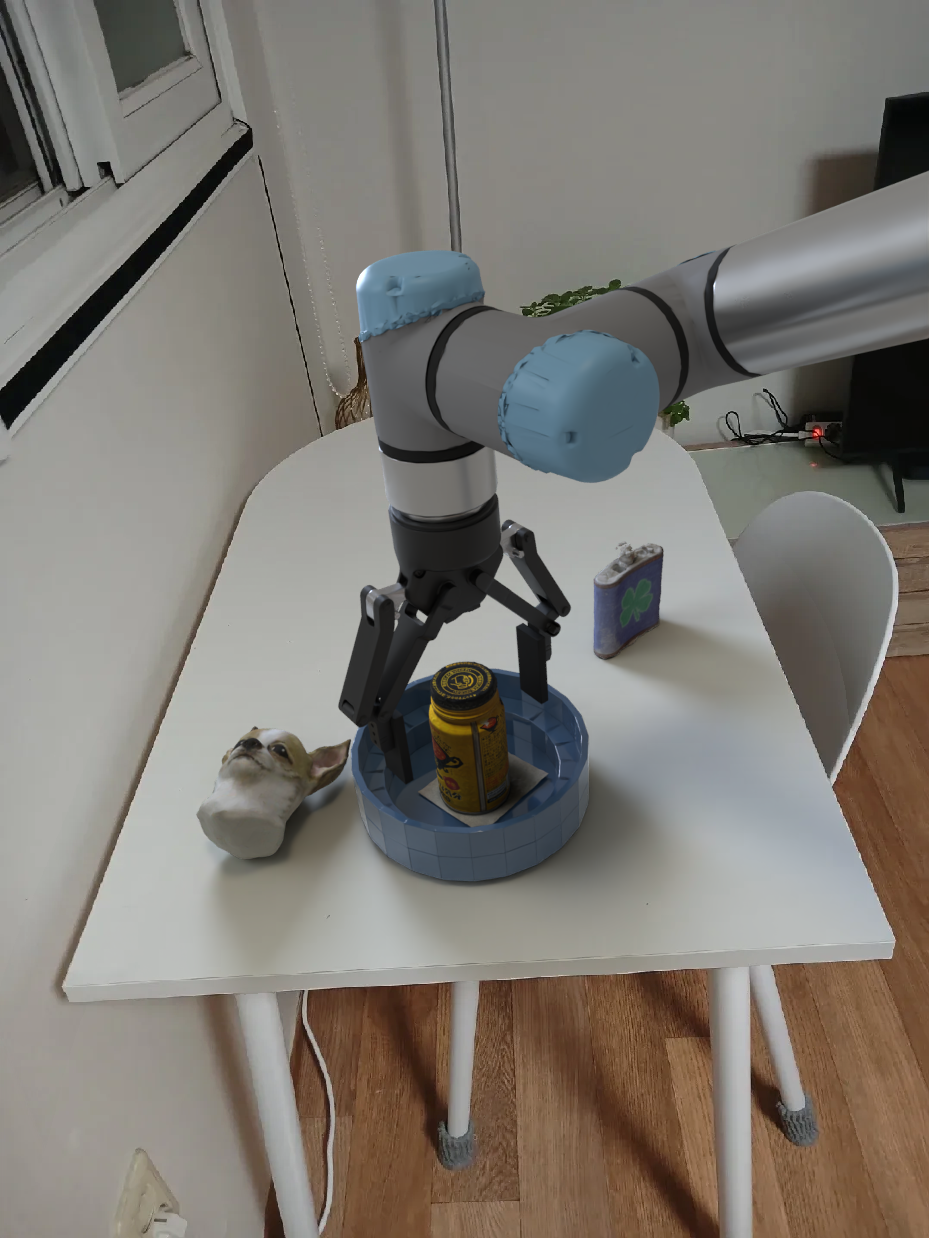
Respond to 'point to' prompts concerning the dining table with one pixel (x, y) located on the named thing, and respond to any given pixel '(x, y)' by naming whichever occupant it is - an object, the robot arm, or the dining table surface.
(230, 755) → the ceramic sculpture
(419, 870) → the basin
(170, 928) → the dining table surface
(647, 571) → the flask
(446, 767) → the condiment
